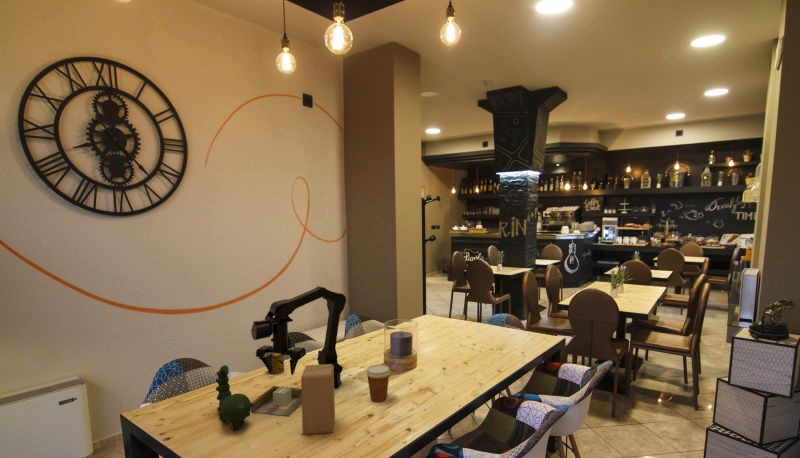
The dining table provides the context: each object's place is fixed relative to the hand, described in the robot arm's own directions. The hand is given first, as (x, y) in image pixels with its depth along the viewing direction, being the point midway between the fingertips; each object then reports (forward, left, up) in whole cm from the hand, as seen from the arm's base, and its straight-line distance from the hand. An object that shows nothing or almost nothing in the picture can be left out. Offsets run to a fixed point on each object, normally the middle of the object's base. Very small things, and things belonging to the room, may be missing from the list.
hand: (281, 373), depth 155 cm
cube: (-1, +2, -10) cm, 11 cm away
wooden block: (-22, +14, -11) cm, 29 cm away
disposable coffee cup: (-36, -10, -11) cm, 39 cm away
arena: (-1, +3, -11) cm, 11 cm away
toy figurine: (+10, +17, -11) cm, 23 cm away
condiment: (+19, -26, -11) cm, 34 cm away
